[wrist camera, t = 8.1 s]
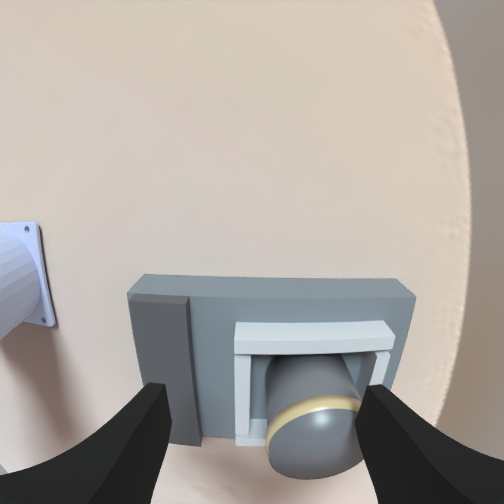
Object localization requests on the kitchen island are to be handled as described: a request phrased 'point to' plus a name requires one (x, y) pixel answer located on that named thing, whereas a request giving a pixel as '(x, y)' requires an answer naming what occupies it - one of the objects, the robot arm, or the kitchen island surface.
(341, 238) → the kitchen island surface
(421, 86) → the kitchen island surface
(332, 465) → the lens
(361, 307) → the camera body
